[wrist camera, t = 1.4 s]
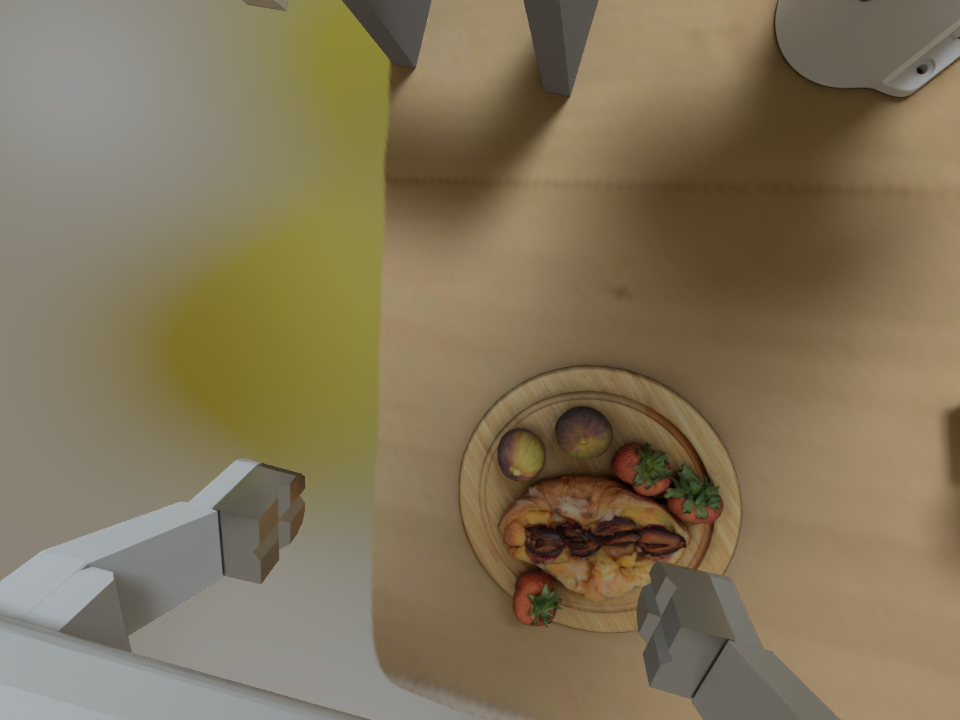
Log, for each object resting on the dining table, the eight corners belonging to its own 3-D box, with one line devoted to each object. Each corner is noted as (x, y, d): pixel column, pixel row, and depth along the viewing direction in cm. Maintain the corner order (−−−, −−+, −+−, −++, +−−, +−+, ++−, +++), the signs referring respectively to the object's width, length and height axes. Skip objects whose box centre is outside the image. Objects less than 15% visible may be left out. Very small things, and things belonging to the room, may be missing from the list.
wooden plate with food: (590, 670, 56) (589, 730, 48) (414, 484, 59) (386, 511, 51) (805, 511, 48) (847, 551, 40) (588, 307, 51) (587, 306, 43)
